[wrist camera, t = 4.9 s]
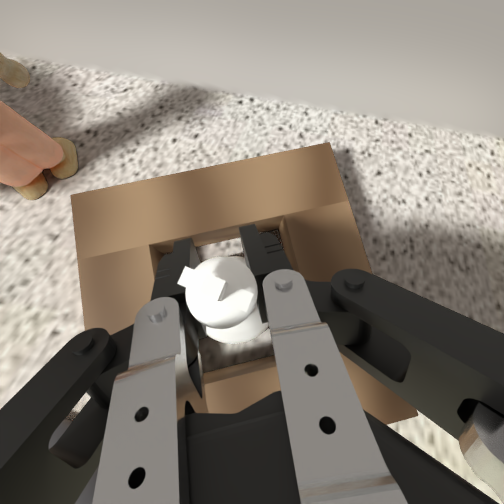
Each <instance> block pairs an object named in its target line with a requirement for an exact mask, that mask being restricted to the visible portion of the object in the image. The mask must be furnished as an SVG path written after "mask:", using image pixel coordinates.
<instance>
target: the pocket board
mask: <svg viewBox="0 0 504 504" xmlns="http://www.w3.org/2000/svg"><path fill="white" fill-rule="evenodd" d="M71 204H72V213H73V223H74V232H75V241H76V251H77V260H78V270H79V279H80V288H81V298H82V307H83V316H84V326H85V331H86V330H88V329H92V328H103V329H105V330H107V331H108V333H109V334H110V335H112V334H114V333H116V332H118V331H120V330H122V329H125V328H127V327H129V326H130V325H132V324H134V323H135V317H136V315H137V313H138V311H139V310H140V309H141V308H142V307H143V306H144V305H145V304H147V303H148V302H150V300H151V295H152V290H153V285H154V281H155V276H156V273H157V266H158V263H159V261H160V260H161V259H162V258H163V256H164V254H167V253H171V252H173V245H174V241H177V240H182V239H186V238H192V239H193V242H194V245H195V247H198V246H203V245H207V244H212V243H216V242H221V241H225V240H230V239H234V238H239V237H240V233H239V227H241V226H246V225H250V224H255V225H256V228H257V230H258V233H261V232H266V231H270V230H275V229H279V232H280V236H281V240H282V244H283V248H284V251H285V254H286V256H287V258H288V260H289V262H290V264H291V266H292V268H293V270H294V271H296V272H298V273H300V274H301V275H302V276H303V278H304V279H306V280H309V281H316V282H331V279H332V276H333V275H334V274H335V273H337V272H338V271H340V270H344V269H360V270H364V271H366V272H369V273H371V274H372V271H371V268H370V265H369V262H368V259H367V256H366V252H365V249H364V246H363V243H362V240H361V237H360V234H359V231H358V228H357V225H356V222H355V219H354V216H353V212H352V209H351V206H350V203H349V200H348V197H347V194H346V191H345V188H344V185H343V182H342V179H341V176H340V172H339V169H338V166H337V163H336V160H335V157H334V154H333V151H332V148H331V145H330V142H328V143H323V144H318V145H313V146H308V147H304V148H299V149H294V150H289V151H284V152H279V153H274V154H269V155H264V156H259V157H254V158H250V159H245V160H240V161H235V162H230V163H225V164H220V165H215V166H210V167H205V168H200V169H195V170H191V171H186V172H181V173H176V174H171V175H166V176H161V177H156V178H151V179H146V180H141V181H137V182H132V183H127V184H122V185H117V186H112V187H107V188H102V189H97V190H92V191H87V192H82V193H78V194H73V195H71ZM340 355H341V357H342V360H343V362H344V365H345V367H346V369H347V372H348V374H349V377H350V379H351V382H352V384H353V386H354V389H355V391H356V394H357V396H358V399H359V401H360V403H361V406H362V408H363V409H364V410H365V411H367V412H368V413H370V414H371V415H372V416H374V417H375V418H377V419H378V420H380V421H381V422H383V423H384V424H385V425H387V424H391V423H394V422H398V421H401V420H405V419H409V418H412V417H416V416H418V413H417V410H416V409H415V408H414V407H413V406H411V405H410V404H409V403H407V402H406V401H405V400H403V399H402V398H401V397H399V396H398V395H397V394H395V393H394V392H393V391H391V390H390V389H389V388H387V387H386V386H385V385H383V384H382V383H381V382H379V381H378V380H376V379H375V378H374V377H372V376H371V375H370V374H368V373H367V372H366V371H364V370H363V369H362V368H360V367H359V366H358V365H356V364H355V363H354V362H352V361H351V360H350V359H348V358H347V357H346V356H344V355H343V354H342V353H340ZM203 378H204V386H205V394H206V402H207V407H208V411H209V413H225V414H233V413H238V412H240V411H242V410H243V409H245V408H247V407H249V406H250V405H252V404H254V403H256V402H257V401H259V400H261V399H263V398H264V397H266V396H268V395H270V394H271V393H273V392H276V391H280V390H281V389H280V384H279V378H278V372H277V366H276V361H275V355H273V356H269V357H265V358H261V359H257V360H253V361H249V362H245V363H241V364H237V365H233V366H229V367H226V368H222V369H218V370H214V371H210V372H206V373H203Z"/></svg>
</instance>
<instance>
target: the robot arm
mask: <svg viewBox="0 0 504 504" xmlns="http://www.w3.org/2000/svg"><path fill="white" fill-rule="evenodd" d="M239 233H240V238H241V242H242V247H243V252H244V257H245V262H246V266H247V267H248V268H249V269H250V271H251V272H252V274H253V275H254V277H255V280H256V283H257V290H258V294H257V301H256V303H257V307H258V310H259V314H260V318H261V321H262V324H263V323H267V322H268V324H269V328H270V332H271V338H272V343H273V349H274V355H275V361H276V366H277V372H278V378H279V384H280V389H281V390H280V391H276V392H273V393H271V394H270V395H268V396H266V397H264V398H263V399H261V400H259V401H257V402H256V403H254V404H252V405H250V406H249V407H247V408H245V409H243V410H242V411H240V412H238V413H233V414H225V413H209V411H208V407H207V402H206V394H205V386H204V378H203V371H202V363H201V356H200V353H199V339H201V338H205V337H207V336H206V326H205V325H203V324H202V323H200V322H199V321H198V320H197V319H196V318H195V317H194V316H193V315H192V313H191V312H190V310H189V308H188V305H187V302H186V294H185V293H186V287H184V286H181V285H179V284H177V283H178V281H179V279H180V277H181V274H182V272H183V270H184V268H185V266H186V267H189V268H191V269H195V268H196V267H197V266H198V265H199V264H201V263H200V260H199V257H198V254H197V251H196V248H195V245H194V242H193V239H192V238H186V239H182V240H177V241H174V245H173V252H172V253H171V254H166V255H164V256H163V258H162V259H161V260H160V261H159V263H158V266H157V273H156V276H155V281H154V285H153V290H152V295H151V300H150V302H148V303H147V304H145V305H144V306H143V307H142V308H141V309H140V310H139V311H138V313H137V315H136V317H135V323H134V324H132V325H130V326H129V327H127V328H125V329H122V330H120V331H118V332H116V333H114V334H112V335H110V334H109V333H108V331H107V330H105V329H103V328H92V329H88V330H86V331H83V332H81V333H80V334H78V335H76V336H75V337H74V338H72V339H71V340H70V341H69V342H68V343H67V344H66V345H65V346H64V347H63V348H62V349H61V350H60V351H59V352H58V353H57V354H56V355H55V356H54V357H53V358H52V359H51V360H50V361H49V362H48V363H47V364H46V365H45V366H44V367H43V368H42V369H41V370H40V371H39V372H38V373H37V374H36V375H35V376H34V377H33V378H32V379H31V380H30V381H29V382H28V383H27V384H26V385H25V386H24V387H23V388H22V389H21V390H20V391H19V392H18V393H17V394H16V395H14V396H13V397H12V398H11V399H10V400H9V401H8V402H7V403H6V404H5V405H4V406H3V407H2V408H1V409H0V504H75V503H76V501H77V499H78V498H79V496H80V495H81V493H82V491H83V490H84V488H85V487H86V485H87V484H88V482H89V480H90V479H91V477H92V476H93V474H94V472H95V471H96V469H97V468H98V466H99V468H98V474H97V480H96V485H95V491H94V496H93V502H92V504H499V503H497V502H496V501H495V500H493V499H492V498H490V497H489V496H487V495H486V494H484V493H483V492H482V491H480V490H479V489H477V488H476V487H474V486H473V485H472V484H470V483H469V482H467V481H466V480H464V479H463V478H461V477H460V476H459V475H457V474H456V473H454V472H453V471H451V470H450V469H449V468H447V467H446V466H444V465H443V464H441V463H440V462H439V461H437V460H436V459H434V458H433V457H431V456H430V455H428V454H427V453H426V452H424V451H423V450H421V449H420V448H418V447H417V446H416V445H414V444H413V443H411V442H410V441H408V440H407V439H405V438H404V437H403V436H401V435H400V434H398V433H397V432H395V431H394V430H393V429H391V428H390V427H388V426H387V425H385V424H384V423H383V422H381V421H380V420H378V419H377V418H375V417H374V416H372V415H371V414H370V413H368V412H367V411H365V410H364V409H363V408H362V406H361V403H360V401H359V399H358V396H357V394H356V391H355V389H354V386H353V384H352V382H351V379H350V377H349V374H348V372H347V369H346V367H345V365H344V362H343V360H342V357H341V355H340V353H342V354H343V355H344V356H346V357H347V358H348V359H350V360H351V361H352V362H354V363H355V364H356V365H358V366H359V367H360V368H362V369H363V370H364V371H366V372H367V373H368V374H370V375H371V376H372V377H374V378H375V379H376V380H378V381H379V382H381V383H382V384H383V385H385V386H386V387H387V388H389V389H390V390H391V391H393V392H394V393H395V394H397V395H398V396H399V397H401V398H402V399H403V400H405V401H406V402H407V403H409V404H410V405H411V406H413V407H414V408H415V409H417V410H418V411H420V412H421V413H422V414H424V415H425V416H426V417H428V418H429V419H430V420H432V421H433V422H434V423H436V424H437V425H438V426H440V427H441V428H442V429H444V430H445V431H446V432H448V433H449V434H450V435H452V436H453V437H454V438H456V439H457V440H458V441H459V445H460V449H461V452H462V454H463V456H464V458H465V460H466V461H467V463H468V464H469V466H470V467H471V469H472V470H473V472H474V473H475V475H476V476H477V477H478V478H479V479H481V480H482V481H483V482H485V483H486V484H487V485H488V486H490V487H491V489H492V490H493V491H494V492H495V493H496V494H497V496H498V497H499V498H500V500H501V501H502V502H503V504H504V334H503V333H501V332H499V331H496V330H494V329H492V328H490V327H488V326H485V325H483V324H481V323H479V322H477V321H474V320H472V319H470V318H468V317H466V316H463V315H461V314H459V313H457V312H455V311H452V310H450V309H448V308H446V307H444V306H441V305H439V304H437V303H435V302H432V301H430V300H428V299H426V298H424V297H421V296H419V295H417V294H415V293H413V292H410V291H408V290H406V289H404V288H402V287H399V286H397V285H395V284H393V283H391V282H388V281H386V280H384V279H382V278H380V277H377V276H375V275H373V274H371V273H369V272H366V271H364V270H360V269H344V270H340V271H338V272H337V273H335V274H334V275H333V276H332V279H331V282H316V281H309V280H306V279H304V278H303V276H302V275H301V274H300V273H298V272H296V271H294V270H293V268H292V266H291V264H290V262H289V260H288V258H287V256H286V254H285V252H284V250H283V248H282V246H281V245H280V243H279V241H278V239H277V237H276V236H275V235H273V234H272V233H270V232H265V233H261V234H259V233H258V230H257V228H256V225H255V224H250V225H246V226H241V227H239ZM86 392H87V393H88V394H89V395H90V397H91V398H90V400H89V401H88V402H87V404H86V405H85V406H84V407H83V409H82V410H81V411H80V413H79V414H78V415H77V416H76V418H75V419H74V420H73V422H72V423H71V424H70V425H69V427H68V428H67V429H66V431H65V432H64V433H63V434H62V436H61V437H60V438H59V440H58V441H57V442H56V443H55V444H54V445H53V446H52V447H51V448H50V449H49V441H50V439H51V436H52V435H53V433H54V431H55V430H56V429H57V428H58V426H59V425H60V424H61V423H62V421H63V420H64V419H65V418H66V416H67V415H68V414H69V413H70V411H71V410H72V409H73V408H74V406H75V405H76V404H77V403H78V401H79V400H80V399H81V398H82V396H83V395H84V394H85V393H86Z"/></svg>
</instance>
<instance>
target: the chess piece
mask: <svg viewBox="0 0 504 504" xmlns="http://www.w3.org/2000/svg"><path fill="white" fill-rule="evenodd" d="M177 284H179V285H181V286H184V287H186V293H185V294H186V302H187V305H188V308H189V310H190V312H191V313H192V315H193V316H194V317H195V318H196V319H197V320H198V321H199V322H200V323H202V324H203V325H205V326H206V334H207V335H208V336H210V337H211V338H213V339H215V340H217V341H219V342H223V343H228V344H240V343H245V342H248V341H251V340H253V339H255V338H257V337H258V336H260V335H261V334H262V333H263V332H264V331H265V330H266V329H267V328H268V327H269V324H268V322H267V323H263V324H262V321H261V318H260V314H259V310H258V307H257V303H256V301H257V294H258V290H257V283H256V280H255V277H254V275H253V274H252V272H251V271H250V269H249V268H248V267H247V266H246V262H245V257H241V256H229V257H224V256H220V257H214V258H210V259H208V260H206V261H204V262H202V263H201V264H199V265H198V266H197V267H196V268H195V269H191V268H189V267H186V266H185V268H184V270H183V272H182V274H181V277H180V279H179V281H178V283H177Z"/></svg>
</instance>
